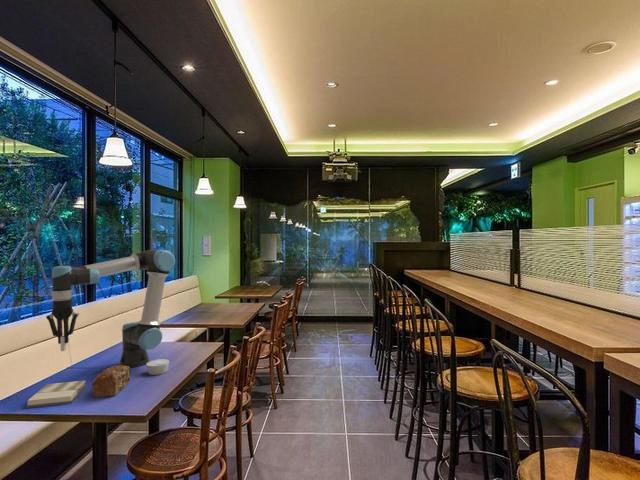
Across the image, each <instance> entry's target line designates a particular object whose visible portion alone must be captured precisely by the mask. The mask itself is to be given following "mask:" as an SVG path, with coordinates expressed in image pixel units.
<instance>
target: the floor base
mask: <svg viewBox="0 0 640 480" xmlns="http://www.w3.org/2000/svg"><path fill="white" fill-rule="evenodd" d="M87 387H88V384H87V383H86V385H85V386H84V387H83V388H82V389H81V390H80V391H79V392H78V393H77V389H75V390H65V391H55V392H45V393H37V392H36V393H34V395H32V396H31V397H30V398H29V399H28V400H27V404H26V406H25V408H26V409H31V408H38V407H49V406H58V405H68V404H73V403H74V402H75V400H76V399H77V398H78V397H79V396H80V395H81V394H82V393H83V391H84V390H86V388H87Z"/></svg>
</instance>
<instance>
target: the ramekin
mask: <svg viewBox="0 0 640 480" xmlns="http://www.w3.org/2000/svg"><path fill="white" fill-rule="evenodd" d="M169 365H170V360H169V359H166V358H163V359H162V358H161V359H158V358H157V359H154V360H153V359H152V360H149V362H148V363H147V364H145V367H146V371H147V373H148V374H149V375H151V376H157V375H158V376H159V375H163V374H165V373H167V372H168V370H169Z"/></svg>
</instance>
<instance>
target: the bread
mask: <svg viewBox="0 0 640 480" xmlns="http://www.w3.org/2000/svg"><path fill="white" fill-rule="evenodd" d="M130 380H131V367H129V366H124V365H119V364H118V365H112V366H111V367H107V368H105V369H104V370H102V371H101V372H100V373H98V374H97V375H96V376H95V378H94V379H93V380H92V385H91V386H92V387H91V390H92V396H93V397H95V398H107V397H108V398H109V397H114V396H117V394H118V393H120V392H121V391H122V390H123V389H124V388H125V387H126V386H127V385H128V384H129V383H130Z"/></svg>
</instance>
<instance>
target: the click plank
mask: <svg viewBox="0 0 640 480" xmlns="http://www.w3.org/2000/svg"><path fill="white" fill-rule="evenodd" d="M86 384H87V383H86V380H80V381H79V380H77V381H66V382H56V383H55V382H53V383H47V384H45V385H44V386H43V387H41V388H40V389H39V390H38V391H37V392H36V393H45V392H55V391H65V390H75V389H77V393H78V392H79V391H80V390H81V389H82V388H83V387H84V386H85V385H86Z"/></svg>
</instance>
